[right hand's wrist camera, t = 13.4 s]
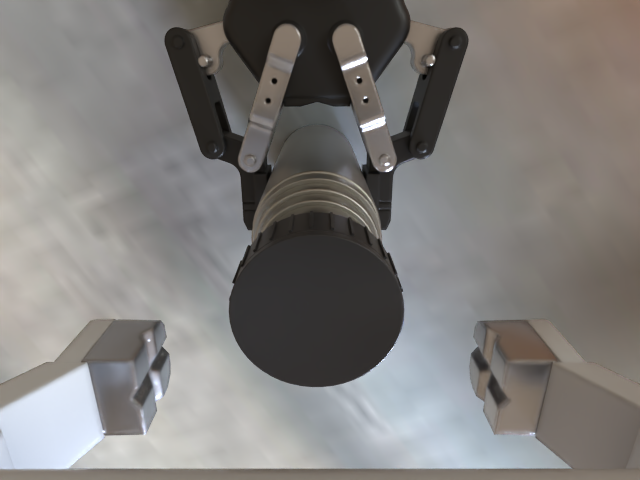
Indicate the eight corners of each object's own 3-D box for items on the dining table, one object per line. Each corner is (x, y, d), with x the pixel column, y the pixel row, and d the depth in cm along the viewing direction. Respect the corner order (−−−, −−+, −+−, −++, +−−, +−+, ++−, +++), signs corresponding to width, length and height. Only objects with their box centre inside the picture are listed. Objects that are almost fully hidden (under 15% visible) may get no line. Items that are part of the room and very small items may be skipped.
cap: (209, 304, 14) (194, 338, 12) (291, 177, 12) (287, 195, 11) (337, 374, 15) (339, 414, 13) (427, 263, 13) (443, 293, 12)
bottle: (265, 173, 30) (191, 331, 12) (305, 108, 28) (287, 183, 11) (327, 212, 31) (340, 410, 13) (369, 152, 29) (447, 285, 12)
